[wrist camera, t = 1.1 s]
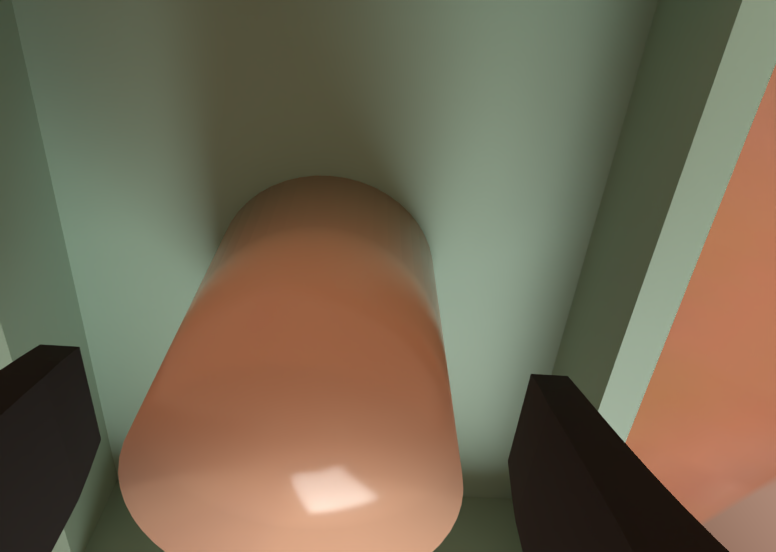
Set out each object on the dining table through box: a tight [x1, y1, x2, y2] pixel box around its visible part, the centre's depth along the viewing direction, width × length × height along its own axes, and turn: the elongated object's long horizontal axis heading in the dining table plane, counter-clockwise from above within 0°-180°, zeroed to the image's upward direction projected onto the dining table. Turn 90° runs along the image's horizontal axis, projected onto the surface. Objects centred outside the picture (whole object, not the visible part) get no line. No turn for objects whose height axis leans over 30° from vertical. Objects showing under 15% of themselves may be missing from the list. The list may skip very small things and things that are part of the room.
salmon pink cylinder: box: [118, 176, 463, 552], centre depth 11 cm, size 5×5×6 cm
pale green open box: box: [0, 0, 776, 552], centre depth 13 cm, size 16×13×3 cm
